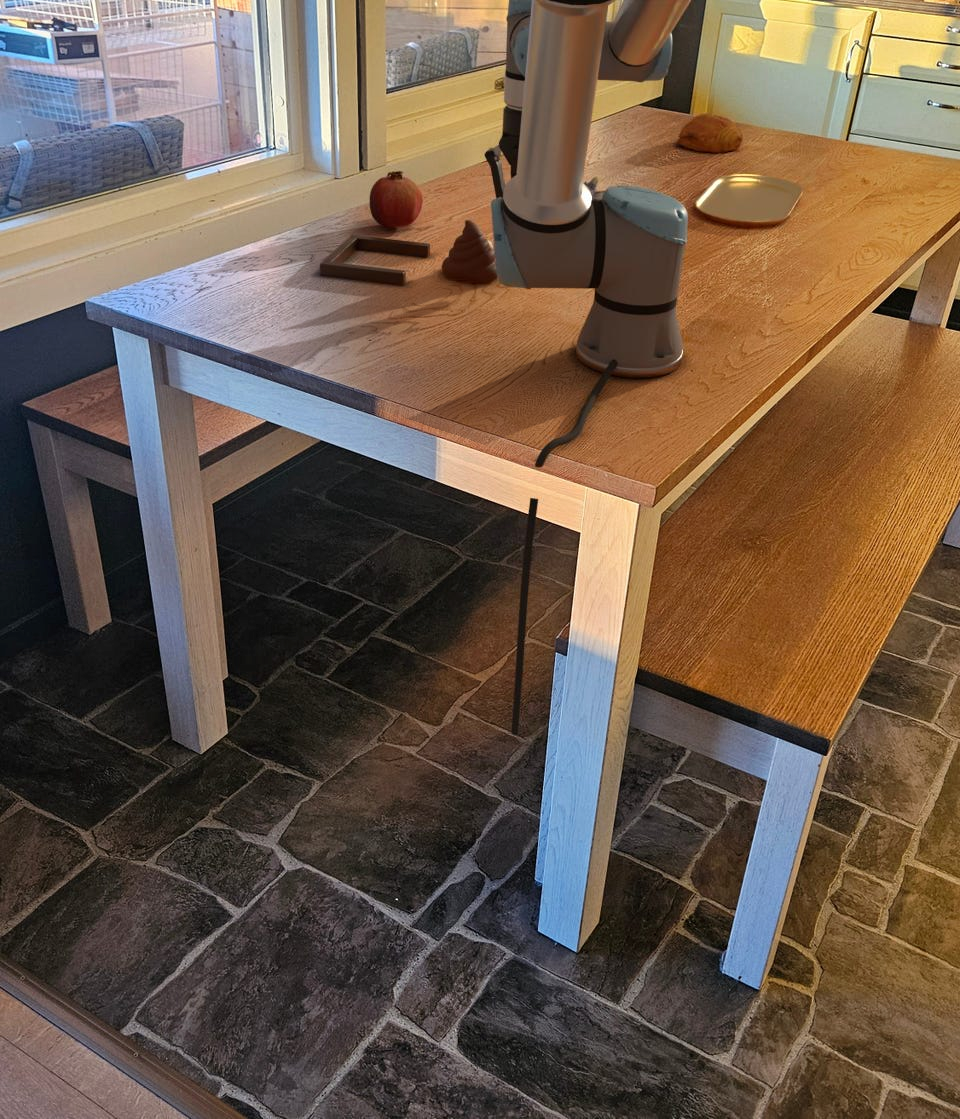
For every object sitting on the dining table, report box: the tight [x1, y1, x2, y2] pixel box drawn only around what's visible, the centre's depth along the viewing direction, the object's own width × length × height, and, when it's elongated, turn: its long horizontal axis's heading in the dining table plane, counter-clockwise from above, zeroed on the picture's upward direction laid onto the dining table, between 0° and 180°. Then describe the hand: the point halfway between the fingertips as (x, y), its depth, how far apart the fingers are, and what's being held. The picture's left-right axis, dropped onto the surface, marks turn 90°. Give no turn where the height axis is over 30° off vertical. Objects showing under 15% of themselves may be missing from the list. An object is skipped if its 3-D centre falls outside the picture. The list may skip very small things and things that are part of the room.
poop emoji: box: [441, 219, 498, 284], centre depth 181 cm, size 10×8×9 cm
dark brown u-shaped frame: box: [319, 234, 431, 286], centre depth 186 cm, size 16×14×2 cm
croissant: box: [677, 113, 743, 154], centre depth 261 cm, size 14×16×8 cm
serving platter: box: [694, 173, 804, 228], centre depth 223 cm, size 19×35×2 cm, turn 157°
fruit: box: [369, 170, 424, 228], centre depth 201 cm, size 11×10×10 cm
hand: (519, 256), depth 180 cm, fingers closed
